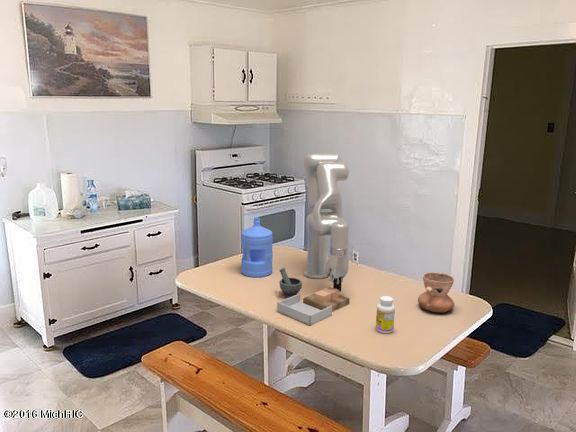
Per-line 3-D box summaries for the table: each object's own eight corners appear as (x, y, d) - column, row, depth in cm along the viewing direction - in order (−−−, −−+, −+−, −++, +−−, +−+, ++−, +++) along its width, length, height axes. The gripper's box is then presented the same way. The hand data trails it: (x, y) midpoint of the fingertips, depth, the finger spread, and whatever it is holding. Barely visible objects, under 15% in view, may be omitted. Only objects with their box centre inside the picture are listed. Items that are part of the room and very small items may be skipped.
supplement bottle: (373, 326, 188) (375, 294, 185) (390, 325, 188) (392, 294, 185) (378, 334, 181) (380, 302, 178) (395, 333, 182) (398, 301, 179)
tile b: (321, 296, 209) (322, 290, 208) (331, 299, 206) (331, 293, 205) (314, 299, 205) (314, 293, 205) (323, 303, 202) (323, 296, 201)
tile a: (329, 293, 213) (329, 286, 212) (338, 296, 209) (339, 289, 209) (322, 296, 209) (322, 289, 208) (331, 299, 206) (331, 293, 205)
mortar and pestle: (305, 296, 215) (306, 270, 213) (291, 302, 209) (292, 275, 206) (287, 289, 223) (287, 264, 220) (272, 295, 216) (272, 269, 213)
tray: (298, 302, 209) (299, 293, 208) (331, 315, 197) (332, 306, 196) (277, 311, 199) (277, 302, 198) (310, 325, 187) (310, 316, 186)
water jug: (254, 265, 255) (254, 212, 248) (278, 271, 246) (279, 217, 239) (234, 273, 243) (234, 218, 236) (259, 280, 234) (259, 223, 227)
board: (324, 294, 217) (324, 289, 217) (349, 303, 208) (349, 298, 207) (303, 303, 208) (303, 298, 207) (328, 313, 198) (328, 307, 198)
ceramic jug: (441, 320, 194) (445, 286, 191) (409, 308, 204) (412, 276, 201) (461, 307, 207) (465, 276, 204) (430, 297, 217) (433, 267, 213)
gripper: (342, 245, 216) (340, 284, 220) (320, 252, 205) (319, 293, 209) (356, 249, 211) (354, 289, 215) (334, 256, 200) (333, 298, 204)
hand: (337, 291), depth 212 cm, fingers closed
